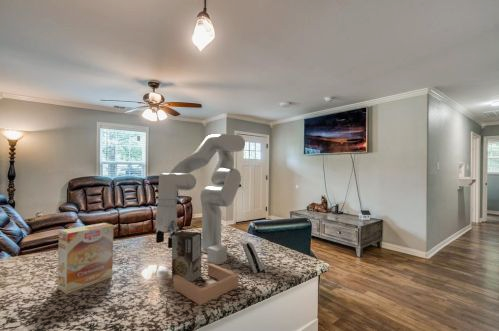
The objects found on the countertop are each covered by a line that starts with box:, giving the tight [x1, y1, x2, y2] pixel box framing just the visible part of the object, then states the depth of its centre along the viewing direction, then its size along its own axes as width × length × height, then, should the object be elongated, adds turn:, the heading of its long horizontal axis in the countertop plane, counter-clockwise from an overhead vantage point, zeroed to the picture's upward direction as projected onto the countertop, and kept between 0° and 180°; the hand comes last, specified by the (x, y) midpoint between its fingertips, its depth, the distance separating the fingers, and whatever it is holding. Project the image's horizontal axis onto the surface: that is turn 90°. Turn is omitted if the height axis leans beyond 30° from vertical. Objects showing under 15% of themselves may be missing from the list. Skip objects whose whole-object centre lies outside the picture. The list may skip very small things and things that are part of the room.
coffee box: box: [171, 230, 202, 283], centre depth 92 cm, size 9×6×16 cm
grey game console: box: [242, 241, 267, 274], centre depth 104 cm, size 17×5×10 cm, turn 11°
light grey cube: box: [206, 245, 228, 266], centre depth 108 cm, size 6×6×6 cm
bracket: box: [172, 262, 240, 306], centre depth 84 cm, size 15×16×4 cm
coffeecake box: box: [57, 222, 114, 295], centre depth 86 cm, size 15×7×20 cm, turn 148°
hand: (165, 244), depth 101 cm, fingers open, 9 cm apart
